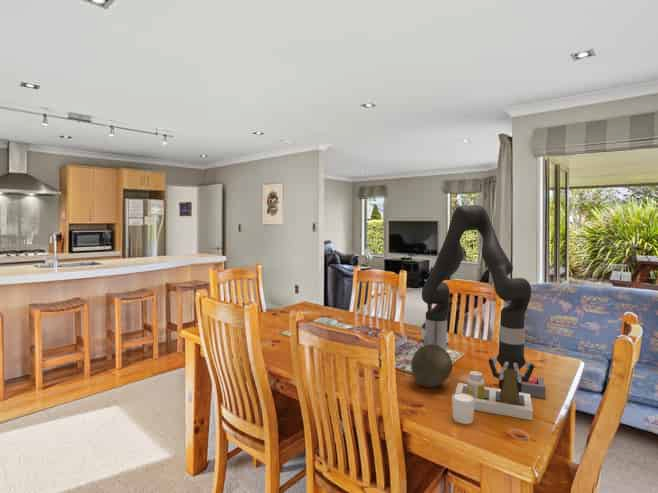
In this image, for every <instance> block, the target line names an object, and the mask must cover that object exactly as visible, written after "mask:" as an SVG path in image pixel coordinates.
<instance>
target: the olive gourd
mask: <svg viewBox="0 0 658 493" xmlns="http://www.w3.org/2000/svg"><path fill="white" fill-rule="evenodd" d="M517 373H518V372H516V371H515V369H513V368H507V369H505V371H504V374H503V375H504V377H503V380H504V381H503V387H502V391H501V392H500V397H499V398H500V400H499V401H500V402H502V403H506V404H512V405H516V404H517V405H518V404H519V402H520V399H519V394H518V389H517V382H518V381H517V377H518V376H517Z"/></svg>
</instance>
